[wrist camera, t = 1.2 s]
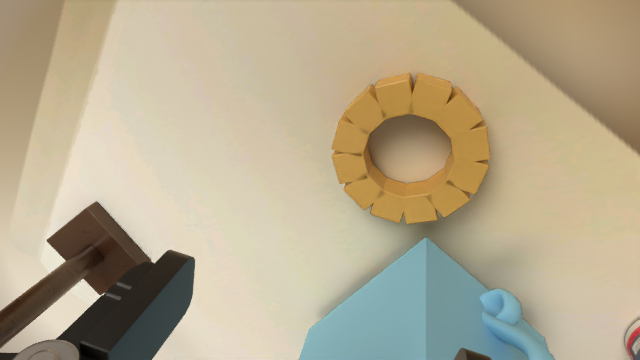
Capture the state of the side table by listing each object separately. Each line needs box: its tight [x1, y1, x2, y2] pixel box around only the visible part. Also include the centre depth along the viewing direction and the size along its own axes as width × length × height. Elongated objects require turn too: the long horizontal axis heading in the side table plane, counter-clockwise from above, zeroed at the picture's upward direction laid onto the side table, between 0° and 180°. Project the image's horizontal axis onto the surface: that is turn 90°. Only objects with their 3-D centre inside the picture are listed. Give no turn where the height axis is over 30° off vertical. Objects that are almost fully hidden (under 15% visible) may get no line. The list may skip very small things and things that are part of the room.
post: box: [0, 202, 151, 348], centre depth 32 cm, size 7×7×11 cm
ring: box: [332, 73, 491, 224], centre depth 25 cm, size 9×9×2 cm
